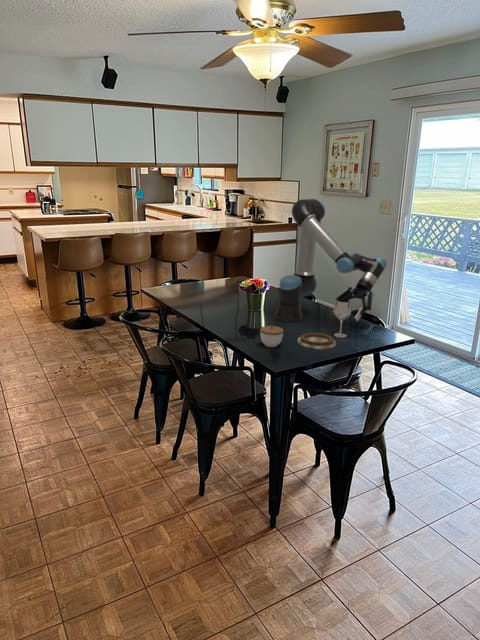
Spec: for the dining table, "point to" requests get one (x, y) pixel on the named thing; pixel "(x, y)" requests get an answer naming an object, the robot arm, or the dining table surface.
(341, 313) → the wineglass
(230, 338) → the dining table surface
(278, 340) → the lidded jar
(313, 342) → the ring tray
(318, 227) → the robot arm
